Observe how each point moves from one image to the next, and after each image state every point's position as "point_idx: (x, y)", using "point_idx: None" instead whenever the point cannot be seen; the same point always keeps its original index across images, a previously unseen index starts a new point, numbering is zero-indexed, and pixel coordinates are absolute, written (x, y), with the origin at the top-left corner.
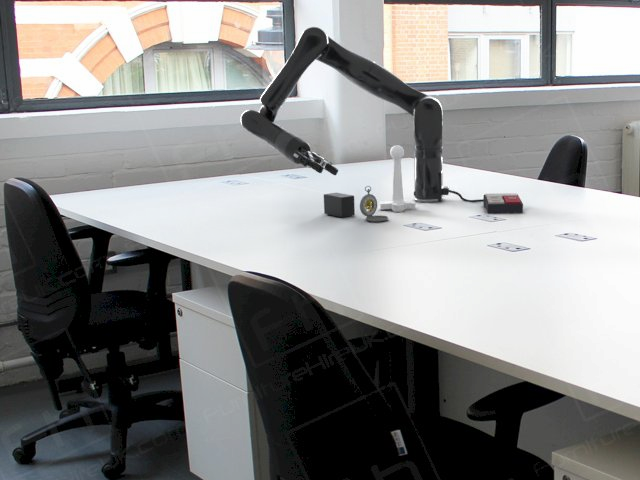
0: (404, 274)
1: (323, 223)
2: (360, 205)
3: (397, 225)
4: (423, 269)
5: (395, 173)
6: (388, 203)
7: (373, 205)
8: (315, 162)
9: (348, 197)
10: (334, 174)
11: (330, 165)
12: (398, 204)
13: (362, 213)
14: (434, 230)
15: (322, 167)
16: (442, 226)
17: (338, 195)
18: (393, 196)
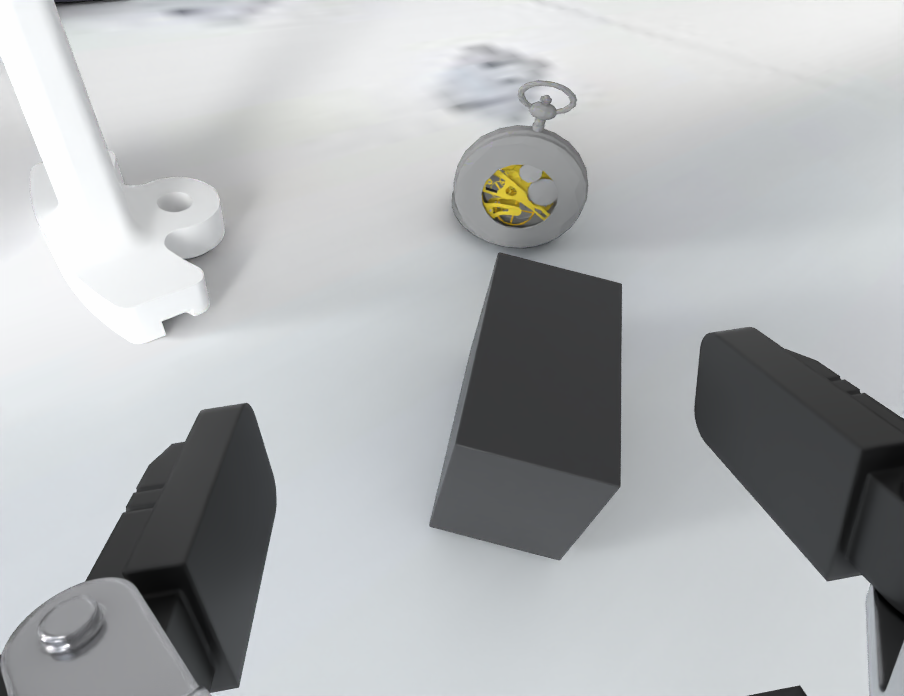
0: (883, 18)
1: None
2: (586, 198)
3: None
4: (832, 7)
5: (54, 5)
6: (168, 250)
7: (469, 193)
8: (878, 417)
9: (552, 271)
10: (272, 491)
11: (208, 526)
12: (192, 195)
13: (557, 235)
14: (520, 51)
15: (743, 328)
16: (447, 48)
17: (572, 340)
18: (121, 196)
